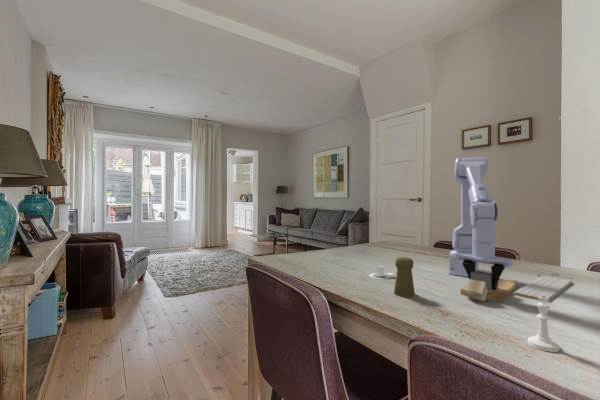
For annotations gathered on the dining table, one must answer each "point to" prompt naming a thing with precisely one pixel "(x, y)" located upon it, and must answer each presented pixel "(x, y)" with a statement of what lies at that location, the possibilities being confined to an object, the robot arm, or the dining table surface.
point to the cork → (404, 277)
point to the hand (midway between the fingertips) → (483, 287)
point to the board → (498, 290)
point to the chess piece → (543, 330)
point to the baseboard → (543, 287)
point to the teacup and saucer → (381, 273)
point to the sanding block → (483, 278)
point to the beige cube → (476, 290)
